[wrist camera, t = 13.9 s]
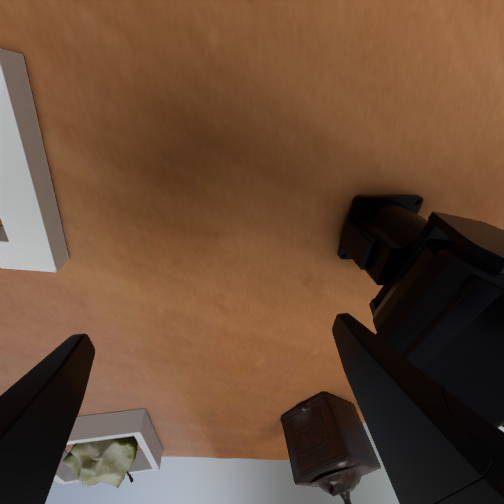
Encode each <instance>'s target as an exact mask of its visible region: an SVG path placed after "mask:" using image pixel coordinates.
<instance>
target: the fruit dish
mask: <svg viewBox="0 0 504 504" xmlns="http://www.w3.org/2000/svg"><path fill="white" fill-rule="evenodd" d="M129 436H135V438H136V440H137V442H138V444H139V445H140V447H141V449H142V450H137V453H136V458H135V460H134V462H133V464H132V466H131V467H130V469H129V470H128V472H129V474H134V473H140V472H146V471H154V470H159V469H160V462H161V456H162V447H161V444H160V442H159V440H158V437H157V435H156V433H155V430H154V428H153V426H152V424H151V421H150V419H149V417H148V414H147V412H146V410H145V409H138V410H129V411H121V412H112V413H104V414H95V415H87V416H79V417H77V418H76V421H75V424H74V426H73V429H72V432H71V434H70V437H69V440H68V442H67V445H68V444H76V443H83V442H91V441H99V440H106V439H114V438H121V437H129ZM67 454H68V453H67V452H65V451H64V453H63V456H62V459H61V461H60V464H59V467H58V469H57V472H56V475H55V477H54V480H55V481H56V482H58V483H59V484H68V483H74V482H80V481H78V480H76V479H75V476H74V472H73V470H72V468H71V467H68V466H67V465H66V464H64V462H63V459H64V458H65V456H66V455H67ZM125 475H127V473H126V474H125Z"/></svg>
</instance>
